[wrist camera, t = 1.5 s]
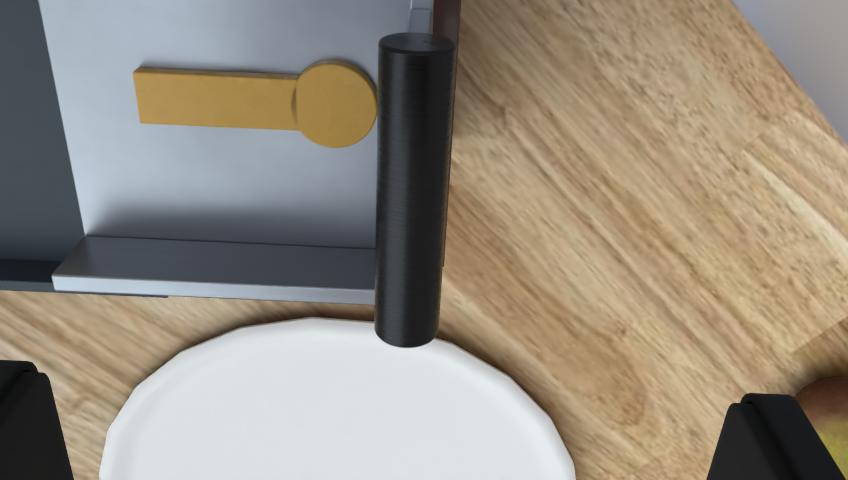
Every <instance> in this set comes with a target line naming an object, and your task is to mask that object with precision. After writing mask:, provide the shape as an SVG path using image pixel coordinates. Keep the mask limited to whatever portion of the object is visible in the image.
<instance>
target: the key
mask: <svg viewBox="0 0 848 480" xmlns="http://www.w3.org/2000/svg"><path fill="white" fill-rule="evenodd" d="M133 79H134V86H135V92H136V99H137V106H138V113H139V120H140V123H143V124H164V125H185V126H206V127H228V128H249V129H270V130H291V131H300V132H301V133H302V134H303V135H304V136H305V137H306V138H308V139H309V140H311V141H312V142H314V143H316V144H318V145H321V146H324V147H329V148H343V147H348V146H351V145H353V144H356V143H357V142H359V141H361V140H362V139H363V138H364V137H365V136H366V135H367V134H368V133H369V132H370V131H371V129H372V127H373V125H374V123H375V120H376V116H377V93H376V90H375V87H374V85H373V83H372V82H371V80H370V79H369V77H368V76H367V75H366V74H365V73H364V72H363V71H362V70H360V69H359V68H358V67H356V66H354V65H352V64H350V63H347V62H344V61H340V60H324V61H320V62H317V63H315V64H312V65H311V66H309V67H307V68H306V69H305V70H304V71H303V72H302V73H301V74H300V75H290V74H269V73H248V72H227V71H206V70H185V69H164V68H142V67H139V68H137V69H136V70H134V71H133Z"/></svg>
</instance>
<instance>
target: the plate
mask: <svg viewBox="0 0 848 480" xmlns="http://www.w3.org/2000/svg"><path fill="white" fill-rule="evenodd" d="M99 478H100V480H576V477H575V468H574V463H573V460H572V458H571V457H570V455H569V453H568V451H567V449H566V447H565V445H564V443H563V441H562V439H561V437H560V435H559V433H558V431H557V429H556V427H555V425H554V423H553V421H552V420H551V418H550V416H549V415H548V414H547V413H546V412H545V411H544V410H543V409H542V408H541V407H540V406H539V405H538V404H537V403H536V402H535V401H534V400H533V399H532V398H531V397H530V396H529V395H528V394H527V393H526V392H525V391H524V390H523V389H522V388H521V387H520V386H519V385H518V384H517V383H516V382H515V381H514V380H513V379H512V378H511V377H510V376H509V375H507V374H505V373H503V372H502V371H500V370H498V369H497V368H495V367H493V366H491V365H490V364H488V363H486V362H484V361H483V360H481V359H479V358H477V357H476V356H474V355H472V354H471V353H469V352H467V351H465V350H464V349H462V348H460V347H458V346H457V345H455V344H453V343H451V342H447V341H444V340H441V339H438V338H434V339H433V340H432V341H431V342H429V343H428V344H426V345H423V346H420V347H415V348H400V347H395V346H392V345H389V344H387V343H385V342H383V341H382V340H381V339H380V338H379V337H378V336H377V334H376V332H375V329H374V322H373V321H360V320H347V319H335V318H322V317H306V318H299V319H292V320H285V321H278V322H271V323H264V324H257V325H250V326H242V327H240V328H237V329H235V330H232V331H230V332H227V333H225V334H222V335H220V336H217V337H215V338H212V339H210V340H207V341H205V342H202V343H200V344H197V345H195V346H192V347H190V348H187V349H185V350H182V351H181V352H179V353H178V354H177V355H176V356H174V357H173V358H172V359H170V360H169V361H168V362H167V363H165V364H164V365H163V366H161V367H160V368H159V369H158V370H156V371H155V372H154V373H152V374H151V375H150V376H149V377H147V378H146V379H145V380H143V381H142V382H141V383H139V384H138V385H137V386H136V388H135V389H134V391H133V392H132V394H131V395H130V397H129V398H128V400H127V401H126V403H125V404H124V406H123V407H122V409H121V411H120V412H119V414H118V415H117V417H116V418H115V420H114V421H113V423H112V424H111V426H110V427H109V429H108V432H107V437H106V442H105V447H104V452H103V457H102V462H101V467H100V471H99Z"/></svg>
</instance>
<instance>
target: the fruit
mask: <svg viewBox="0 0 848 480" xmlns="http://www.w3.org/2000/svg"><path fill="white" fill-rule="evenodd" d="M794 398H795V399H796V401H797V402H798V403H799V405H800V406H801V408H802V410H803V411H804V413H805V414H806V416H807V418H808V419H809V421H810V422H811V424H812V426H813V427H814V429H815V430H816V432H817V434H818V435H819V437H820V438H821V440H822V442H823V443H824V445H825V446H826V448H827V450H828V451H829V453H830V454H831V456H832V458H833V459H834V461H835V462H836V464H837V466H838V467H839V469H840V470H841V472H842V474H843V475H844V477H845V478H846V480H848V377H847V376H835V377H830V378H826V379H823V380H820V381H817V382H815V383H812V384H810V385H809V386H807V387H805V388H804V389H803V390H801V391H800V392H799V393H797V394H796V395H795V396H794Z"/></svg>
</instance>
